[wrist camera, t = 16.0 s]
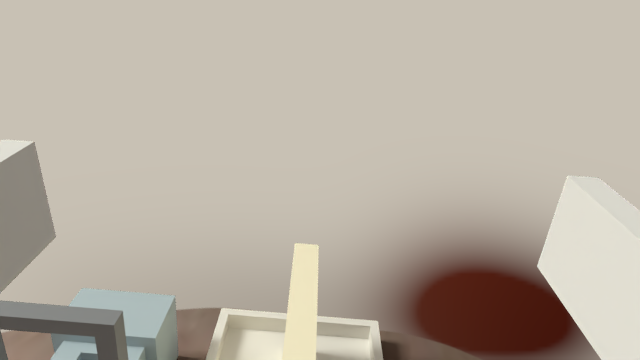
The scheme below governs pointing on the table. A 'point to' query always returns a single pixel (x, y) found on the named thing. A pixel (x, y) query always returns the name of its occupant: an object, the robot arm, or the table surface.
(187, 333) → the table surface
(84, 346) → the door frame
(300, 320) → the cream rectangular board
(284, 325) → the tray
